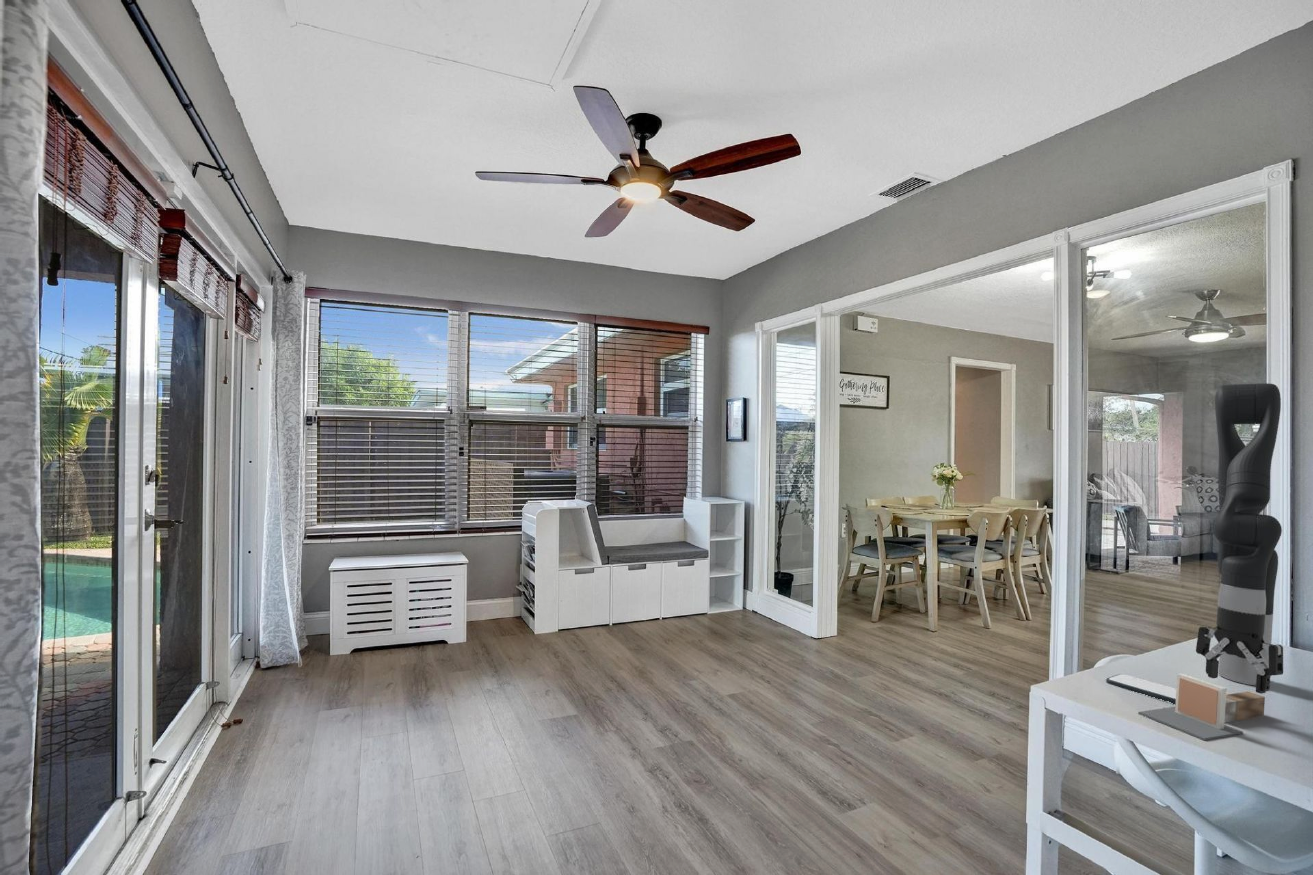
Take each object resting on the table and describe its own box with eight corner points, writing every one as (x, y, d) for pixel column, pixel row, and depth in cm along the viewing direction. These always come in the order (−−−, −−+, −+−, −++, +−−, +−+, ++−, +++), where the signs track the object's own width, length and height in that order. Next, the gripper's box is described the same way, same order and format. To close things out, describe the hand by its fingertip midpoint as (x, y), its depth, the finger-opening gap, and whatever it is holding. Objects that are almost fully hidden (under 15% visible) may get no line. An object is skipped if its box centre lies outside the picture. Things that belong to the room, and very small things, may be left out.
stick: (1246, 709, 142) (1247, 691, 142) (1263, 715, 139) (1264, 696, 139) (1205, 716, 137) (1207, 697, 137) (1222, 722, 134) (1223, 703, 134)
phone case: (1103, 685, 154) (1187, 710, 140) (1104, 678, 154) (1187, 702, 140) (1120, 679, 158) (1203, 703, 145) (1121, 672, 158) (1203, 695, 145)
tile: (1179, 711, 137) (1182, 673, 137) (1224, 728, 130) (1226, 688, 130) (1174, 712, 137) (1176, 673, 137) (1218, 729, 129) (1221, 688, 129)
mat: (1175, 708, 140) (1176, 706, 140) (1242, 733, 129) (1243, 731, 129) (1138, 713, 136) (1138, 711, 136) (1204, 740, 125) (1204, 738, 125)
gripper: (1294, 616, 132) (1289, 696, 132) (1213, 598, 145) (1208, 671, 145) (1272, 617, 129) (1266, 699, 129) (1191, 599, 143) (1186, 673, 143)
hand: (1235, 684), depth 137 cm, fingers open, 8 cm apart
